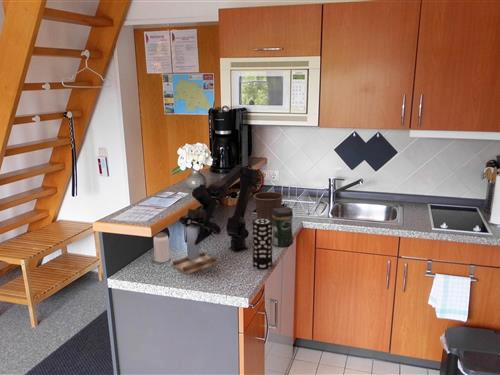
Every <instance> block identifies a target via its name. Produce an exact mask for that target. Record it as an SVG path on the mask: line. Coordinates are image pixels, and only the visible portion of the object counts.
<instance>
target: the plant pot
mask: <svg viewBox="0 0 500 375" xmlns="http://www.w3.org/2000/svg"><path fill="white" fill-rule="evenodd" d="M283 197H284V195H283V194H282V193H280V192H275V191H263V192H257V193H255V194H253V198H254V203H255V208H256V219H259V218H266V219H270V220H272V227H274V219H273V216H272V215H273V209H274V208H282V206H281V205H282V203H283V202H282V201H283Z"/></svg>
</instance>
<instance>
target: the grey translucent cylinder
mask: <svg viewBox="0 0 500 375" xmlns="http://www.w3.org/2000/svg"><path fill="white" fill-rule="evenodd" d="M185 228H186V229H185V234H186V233H187V243H186V246H187V251H186V252H187V257H188V259H190V260H196V259H198V258H199V257H200V256H199V253H200V243H199V244H197V245H195V241H196V239H197V237H198V235H199V227H198V226H188V227H185Z"/></svg>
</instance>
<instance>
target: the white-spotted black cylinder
mask: <svg viewBox="0 0 500 375" xmlns="http://www.w3.org/2000/svg"><path fill="white" fill-rule="evenodd" d="M251 223H252V267H253V268H254V269H257V270H260V271H261V270H262V271H264V270H269V269H271V268H272V267H273V226H272V220H270V219H266V218H259V219H257V218H255V219H253V220H252V222H251Z"/></svg>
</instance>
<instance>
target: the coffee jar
mask: <svg viewBox="0 0 500 375" xmlns="http://www.w3.org/2000/svg"><path fill="white" fill-rule="evenodd" d="M293 214H294V213H293V209H292V207H290V206H284V207H282V206H281V208H274V209H273V215H272V216H273V219H274V226H273V230H272V245H274V247H277V248H279V247H280V248H282V247H283V248H284V247H288V246H292V245H293V243H294V237H293V229H292V228H293V225H292V222H293V217H294V215H293Z"/></svg>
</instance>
